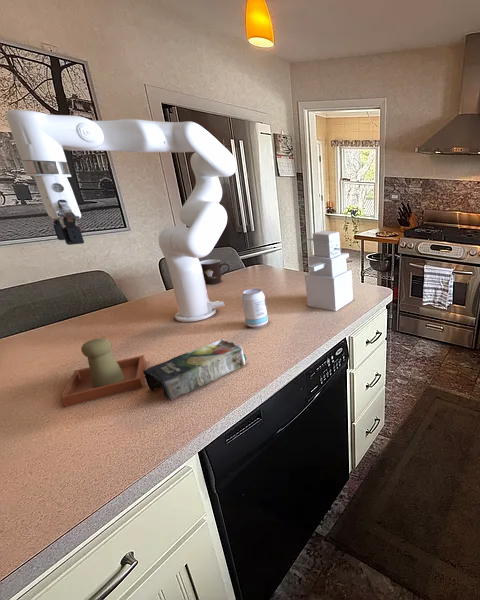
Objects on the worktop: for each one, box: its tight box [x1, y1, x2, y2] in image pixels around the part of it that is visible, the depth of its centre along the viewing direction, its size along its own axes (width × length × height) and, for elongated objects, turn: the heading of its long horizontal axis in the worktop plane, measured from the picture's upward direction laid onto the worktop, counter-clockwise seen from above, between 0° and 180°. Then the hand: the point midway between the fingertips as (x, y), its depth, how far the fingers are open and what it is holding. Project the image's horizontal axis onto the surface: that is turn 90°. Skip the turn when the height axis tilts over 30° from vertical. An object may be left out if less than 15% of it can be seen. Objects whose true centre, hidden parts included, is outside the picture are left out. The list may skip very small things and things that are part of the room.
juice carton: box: [143, 338, 247, 401], centre depth 81 cm, size 20×10×6 cm, turn 149°
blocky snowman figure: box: [304, 230, 354, 312], centre depth 125 cm, size 13×24×28 cm, turn 158°
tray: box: [60, 354, 147, 408], centre depth 79 cm, size 14×13×2 cm
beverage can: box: [241, 288, 269, 329], centre depth 108 cm, size 7×7×12 cm
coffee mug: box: [199, 259, 231, 285], centre depth 151 cm, size 12×9×10 cm
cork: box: [80, 337, 125, 388], centre depth 77 cm, size 6×6×11 cm
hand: (71, 241), depth 83 cm, fingers open, 9 cm apart
